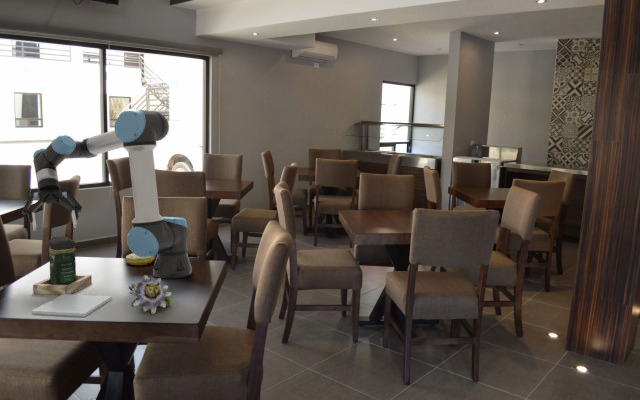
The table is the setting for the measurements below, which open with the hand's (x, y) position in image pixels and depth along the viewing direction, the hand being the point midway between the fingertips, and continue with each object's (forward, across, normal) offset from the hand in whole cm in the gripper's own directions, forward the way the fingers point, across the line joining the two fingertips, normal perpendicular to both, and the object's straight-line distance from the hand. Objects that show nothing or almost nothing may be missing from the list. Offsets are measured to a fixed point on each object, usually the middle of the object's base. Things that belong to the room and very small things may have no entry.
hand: (55, 227), depth 193 cm
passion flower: (+49, -19, +21) cm, 57 cm away
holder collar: (+22, 0, -6) cm, 23 cm away
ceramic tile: (+38, 0, +10) cm, 39 cm away
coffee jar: (+22, 0, -7) cm, 23 cm away
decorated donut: (+6, -34, -23) cm, 42 cm away
